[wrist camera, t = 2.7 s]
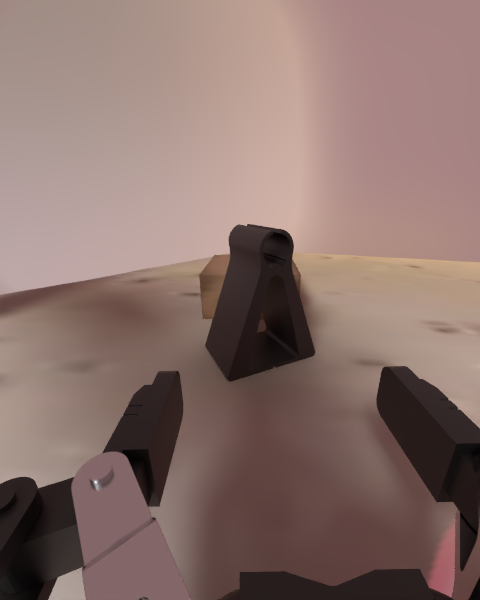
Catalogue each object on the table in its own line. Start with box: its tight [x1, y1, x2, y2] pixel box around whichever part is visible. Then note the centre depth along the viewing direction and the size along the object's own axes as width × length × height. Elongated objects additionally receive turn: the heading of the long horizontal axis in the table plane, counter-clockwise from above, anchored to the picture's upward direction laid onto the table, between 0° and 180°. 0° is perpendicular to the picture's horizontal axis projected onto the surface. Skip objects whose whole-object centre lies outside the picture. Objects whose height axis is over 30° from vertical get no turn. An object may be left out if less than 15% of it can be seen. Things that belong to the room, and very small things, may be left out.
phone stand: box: [205, 224, 315, 381], centre depth 25 cm, size 9×6×12 cm, turn 114°
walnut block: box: [199, 255, 301, 319], centre depth 39 cm, size 12×12×6 cm
